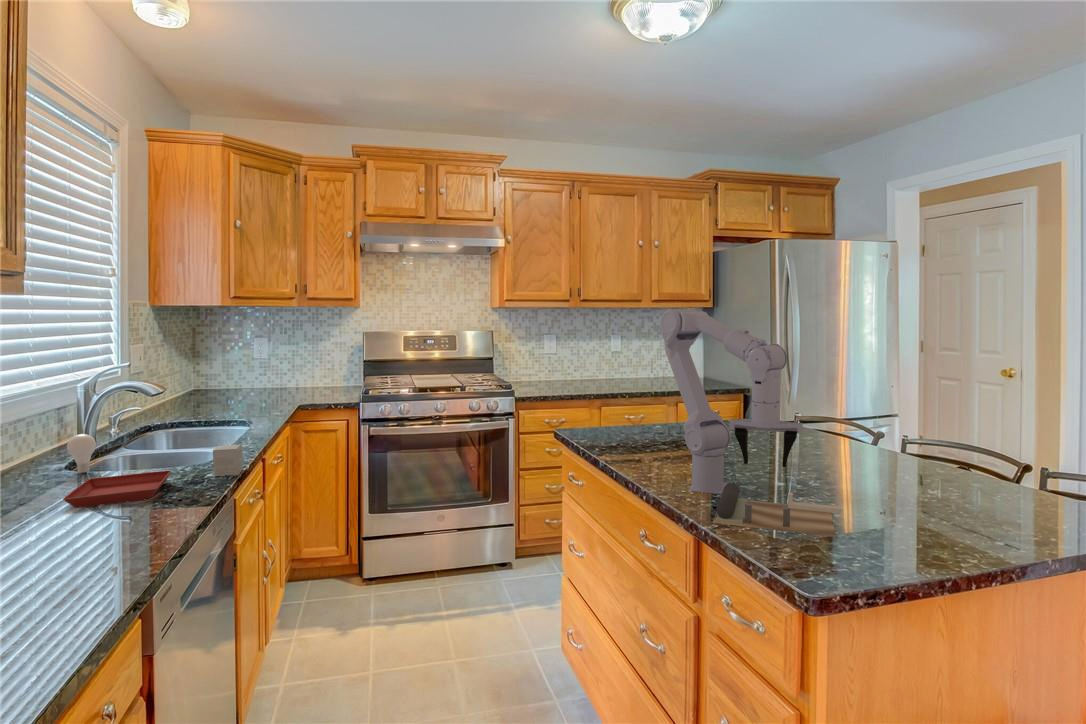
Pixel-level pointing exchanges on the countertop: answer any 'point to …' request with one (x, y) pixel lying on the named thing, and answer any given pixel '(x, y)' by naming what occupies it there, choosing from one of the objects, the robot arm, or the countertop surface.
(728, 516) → the dark grey rod
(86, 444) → the lightbulb
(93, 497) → the plant saucer
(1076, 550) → the countertop surface
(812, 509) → the beige l-shaped block
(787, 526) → the board
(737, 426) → the robot arm
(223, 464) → the product box
